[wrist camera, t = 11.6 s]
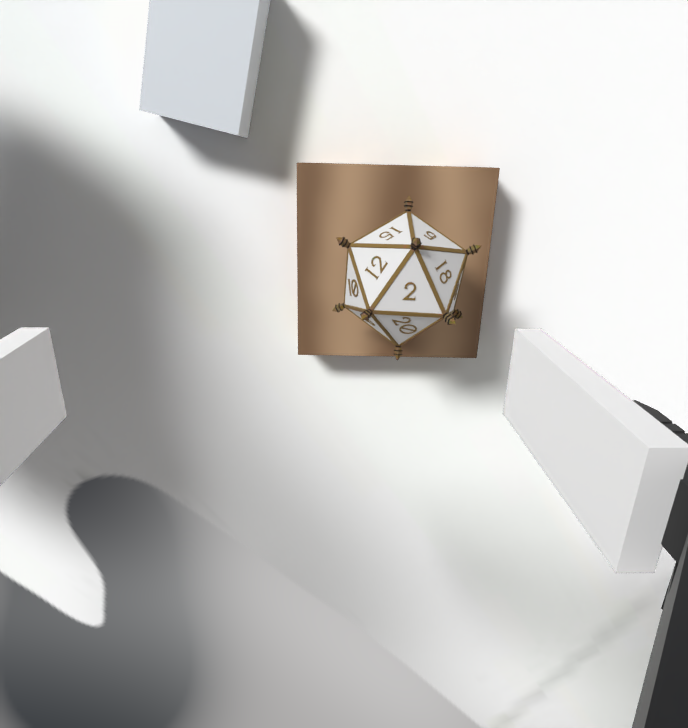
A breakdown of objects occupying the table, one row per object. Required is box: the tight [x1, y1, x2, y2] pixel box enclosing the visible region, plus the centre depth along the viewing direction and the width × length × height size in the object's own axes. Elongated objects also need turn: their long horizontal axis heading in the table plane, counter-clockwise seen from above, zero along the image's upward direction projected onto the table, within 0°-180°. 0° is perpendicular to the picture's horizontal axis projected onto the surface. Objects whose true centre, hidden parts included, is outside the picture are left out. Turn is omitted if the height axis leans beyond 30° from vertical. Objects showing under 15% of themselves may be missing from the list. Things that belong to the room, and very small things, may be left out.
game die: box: [332, 195, 482, 360], centre depth 32 cm, size 9×8×10 cm
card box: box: [139, 0, 270, 138], centre depth 32 cm, size 6×9×4 cm, turn 166°
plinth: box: [297, 163, 500, 358], centre depth 37 cm, size 13×13×3 cm
